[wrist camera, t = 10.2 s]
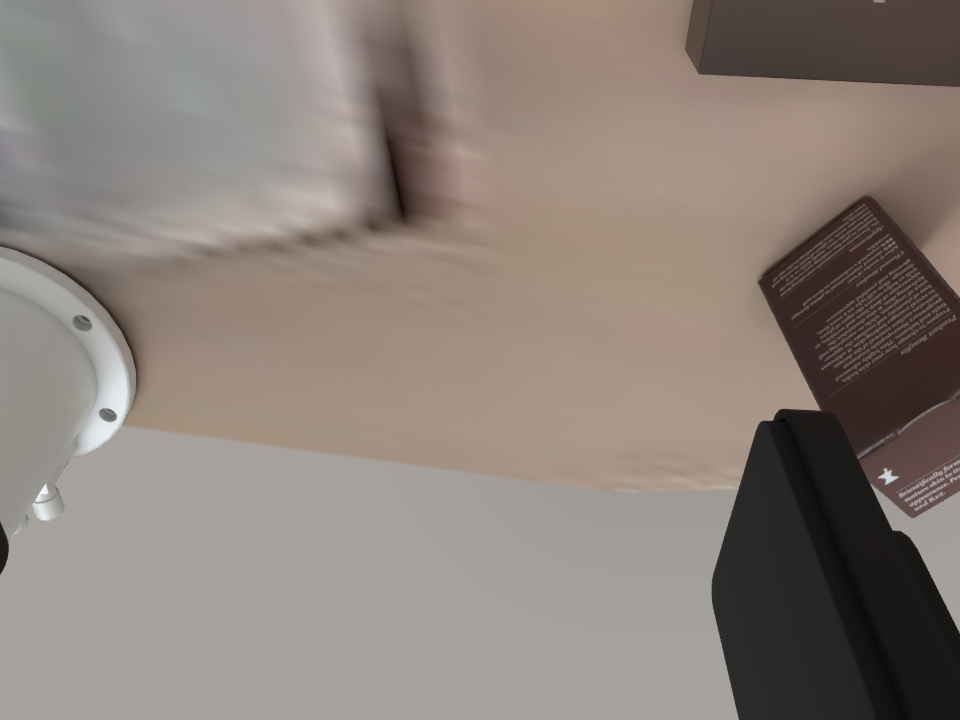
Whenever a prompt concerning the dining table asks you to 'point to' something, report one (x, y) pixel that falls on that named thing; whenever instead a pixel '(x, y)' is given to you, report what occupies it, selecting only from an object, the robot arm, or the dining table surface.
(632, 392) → the dining table surface
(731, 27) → the lock plate
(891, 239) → the box
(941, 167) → the dining table surface
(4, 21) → the dining table surface
